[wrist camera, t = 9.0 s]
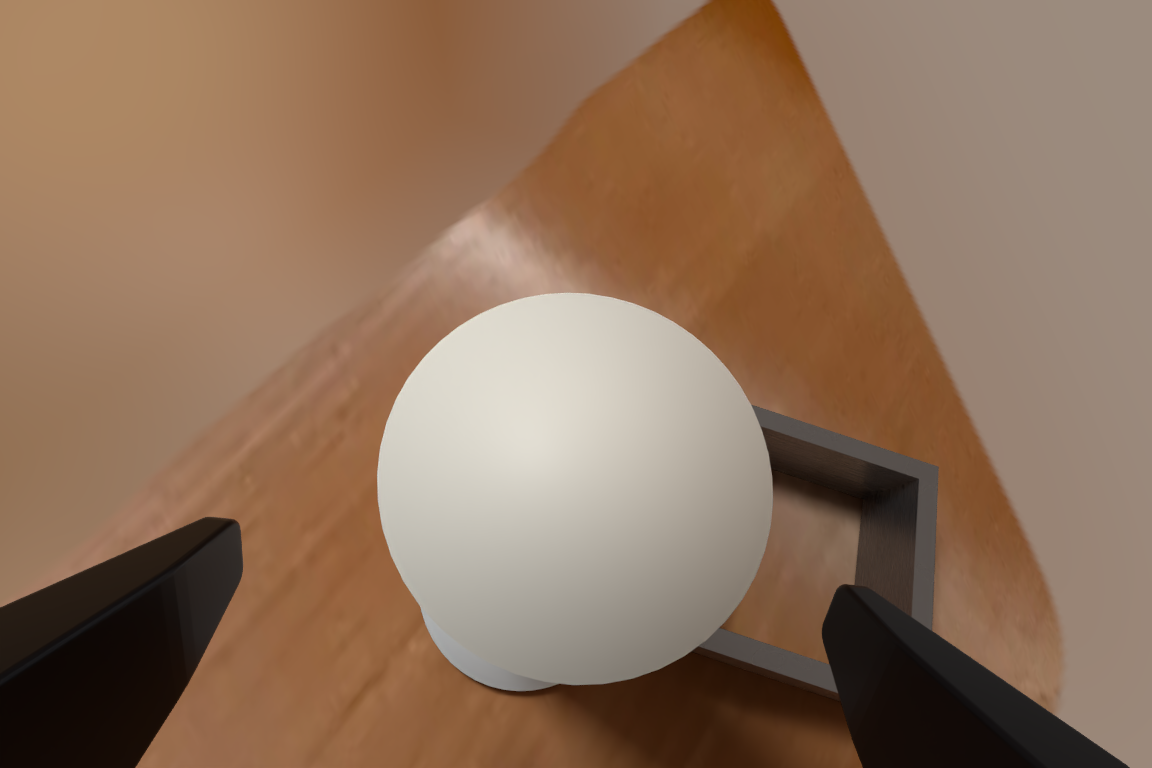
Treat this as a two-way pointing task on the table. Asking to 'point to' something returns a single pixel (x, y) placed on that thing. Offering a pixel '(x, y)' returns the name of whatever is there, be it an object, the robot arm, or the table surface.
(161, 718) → the robot arm
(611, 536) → the cream peg
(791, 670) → the frame
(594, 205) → the table surface
